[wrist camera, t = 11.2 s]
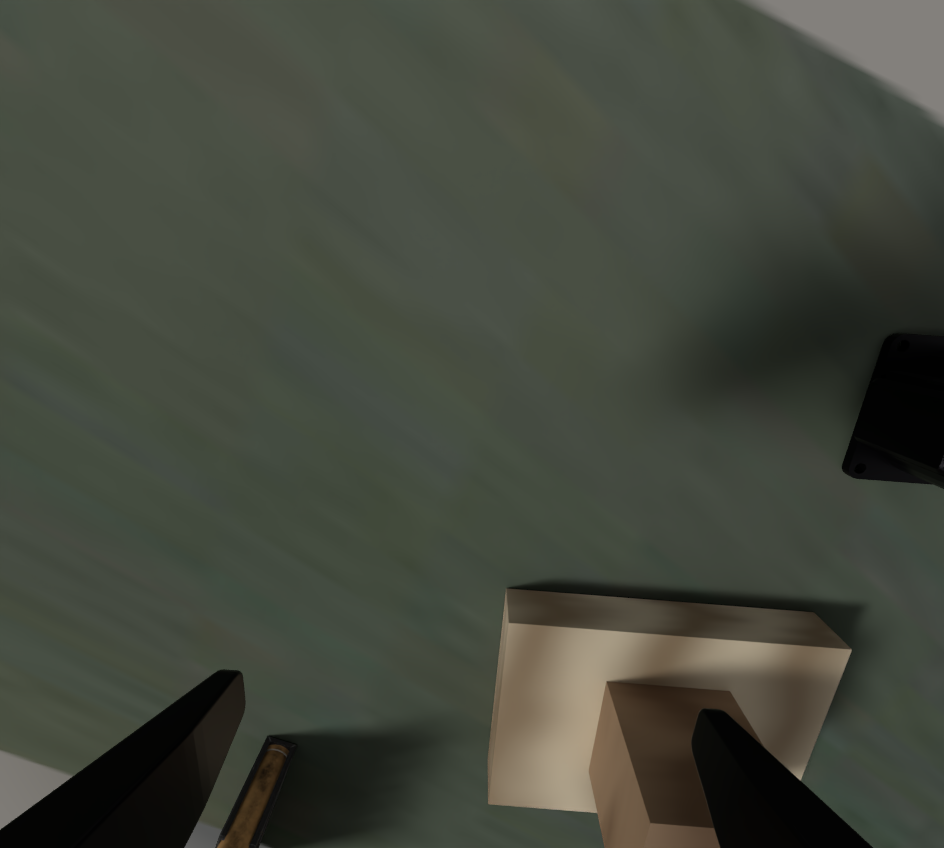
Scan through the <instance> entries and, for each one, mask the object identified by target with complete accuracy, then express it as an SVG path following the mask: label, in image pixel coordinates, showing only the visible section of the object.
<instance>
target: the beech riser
mask: <svg viewBox="0 0 944 848" xmlns="http://www.w3.org/2000/svg"><path fill="white" fill-rule="evenodd" d="M851 651H852V649H851V648H850V647H849V646H848V645H847V644H846V643H845V642H844V641H843V640H842V639H841V638H840V637H839V636H838V635H837V634H836V633H835V632H834V631H833V630H832V629H831V628H830V627H828V626H827V625H826V624H825V623H824V622H823V621H822V620H821V619H820V618H819V617H818V616H817V615H816V614H815V613H814V612H804V611H791V610H778V609H765V608H752V607H739V606H726V605H713V604H700V603H687V602H675V601H662V600H649V599H636V598H623V597H610V596H597V595H584V594H571V593H558V592H546V591H533V590H520V589H507V588H506V596H505V605H504V614H503V623H502V632H501V642H500V651H499V660H498V669H497V678H496V688H495V697H494V706H493V715H492V725H491V734H490V743H489V752H488V804H493V805H506V806H518V807H531V808H543V809H555V810H568V811H580V812H592V813H597V809H596V804H595V799H594V795H593V790H592V785H591V781H590V776H589V766H590V761H591V756H592V751H593V746H594V741H595V736H596V731H597V726H598V721H599V716H600V711H601V706H602V701H603V696H604V691H605V686H606V681H608V682H621V683H634V684H647V685H659V686H672V687H685V688H698V689H710V690H723V691H730V692H731V694H732V695H733V697H734V698H735V700H736V702H737V703H738V705H739V707H740V708H741V710H742V712H743V713H744V715H745V716H746V718H747V720H748V721H749V723H750V725H751V726H752V728H753V730H754V731H755V733H756V734H757V736H758V738H759V739H760V741H761V743H762V744H763V746H764V748H766V749H767V750H768V751H769V752H770V753H771V754H772V755H773V756H774V757H775V758H776V759H777V760H779V761H780V762H781V763H782V764H783V765H784V766H785V767H786V768H787V769H788V770H789V771H790V772H792V773H793V774H794V775H795V776H796V777H797V778H798V779H799V780H800V781H801V778H802V775H803V773H804V770H805V768H806V765H807V763H808V760H809V758H810V755H811V753H812V750H813V748H814V745H815V743H816V740H817V737H818V735H819V732H820V730H821V727H822V725H823V722H824V720H825V717H826V715H827V712H828V710H829V707H830V704H831V702H832V699H833V697H834V694H835V692H836V689H837V687H838V684H839V682H840V679H841V677H842V674H843V671H844V669H845V666H846V664H847V661H848V659H849V656H850V654H851Z"/></svg>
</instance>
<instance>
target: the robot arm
mask: <svg viewBox="0 0 944 848" xmlns="http://www.w3.org/2000/svg"><path fill="white" fill-rule="evenodd" d="M899 342H901V346H900V347H899V349H897V345H898V343H899ZM858 464H859V466H858V468H857V469H855V467H856V465H858ZM854 469H855V470H854ZM842 470H843V472H844V473H845V474H847V475H849V476H851V477H853V478H856V479H868V480H881V481H894V482H907V483H921V484H934V485H936V486H938V487H941V488H943V489H944V336H932V335H918V334H904V333H895V334H892V335H890V336H889V337H888V338H886V339H885V341H884V343H883V345H882V348H881V351H880V354H879V357H878V360H877V363H876V366H875V369H874V372H873V375H872V378H871V381H870V384H869V387H868V390H867V393H866V396H865V399H864V402H863V405H862V408H861V411H860V413H859V416H858V419H857V422H856V425H855V428H854V431H853V434H852V437H851V440H850V443H849V446H848V449H847V452H846V455H845V458H844V461H843V464H842ZM244 710H245V691H244V682H243V675H242V673H241V672H240V671H238V670H225V669H223V670H219V671H217V672H215V673H214V674H212V675H211V676H210V677H208V678H207V679H206V680H204V681H203V682H202V683H200V684H199V685H197V686H196V687H195V688H193V689H192V690H191V691H189V692H188V693H186V694H185V695H184V696H182V697H181V698H180V699H178V700H177V701H176V702H174V703H173V704H171V705H170V706H169V707H167V708H166V709H165V710H163V711H162V712H161V713H159V714H158V715H156V716H155V717H154V718H152V719H151V720H150V721H148V722H147V723H145V724H144V725H143V726H141V727H140V728H139V729H137V730H136V731H135V732H133V733H132V734H130V735H129V736H128V737H126V738H125V739H124V740H122V741H121V742H119V743H118V744H117V745H115V746H114V747H113V748H111V749H110V750H109V751H107V752H106V753H104V754H103V755H102V756H100V757H99V758H98V759H96V760H95V761H94V762H92V763H91V764H89V765H88V766H87V767H85V768H84V769H83V770H81V771H80V772H78V773H77V774H76V775H74V776H73V777H72V778H70V779H69V780H68V781H66V782H65V783H64V784H62V785H61V786H59V787H58V788H57V789H55V790H54V791H52V792H51V793H50V794H49V795H47V796H46V797H44V798H43V799H42V800H40V801H39V802H38V803H36V804H35V805H33V806H32V807H31V808H29V809H28V810H27V811H25V812H24V813H22V814H21V815H20V816H19V817H17V818H16V819H14V820H13V821H11V822H10V823H9V824H8V825H6V826H5V827H3V828H2V829H1V830H0V848H184V847H185V845H186V843H187V841H188V840H189V838H190V836H191V834H192V832H193V830H194V828H195V826H196V824H197V822H198V820H199V818H200V816H201V814H202V812H203V810H204V808H205V806H206V803H207V801H208V799H209V796H210V794H211V792H212V789H213V787H214V785H215V782H216V780H217V777H218V775H219V773H220V770H221V768H222V765H223V763H224V760H225V758H226V756H227V753H228V751H229V748H230V746H231V744H232V741H233V739H234V736H235V734H236V731H237V729H238V727H239V724H240V722H241V719H242V717H243V714H244ZM691 749H692V754H693V757H694V761H695V764H696V768H697V771H698V774H699V778H700V781H701V785H702V788H703V792H704V795H705V799H706V802H707V805H708V809H709V812H710V816H711V819H712V823H713V826H714V830H715V833H716V836H717V839H718V843H719V846H720V848H873V847H872V846H871V845H870V844H869V843H867V842H866V841H865V840H864V839H863V838H862V837H861V836H860V835H859V834H858V833H857V832H856V831H854V830H853V829H852V828H851V827H850V826H849V825H848V824H847V823H846V822H845V821H844V820H843V819H841V818H840V817H839V816H838V815H837V814H836V813H835V812H834V811H833V810H832V809H831V808H830V807H828V806H827V805H826V804H825V803H824V802H823V801H822V800H821V799H820V798H819V797H818V796H817V795H815V794H814V793H813V792H812V791H811V790H810V789H809V788H808V787H807V786H806V785H805V784H803V783H802V782H801V781H800V780H799V779H798V778H797V777H796V776H795V775H794V774H793V773H792V772H790V771H789V770H788V769H787V768H786V767H785V766H784V765H783V764H782V763H781V762H780V761H779V760H777V759H776V758H775V757H774V756H773V755H772V754H771V753H770V752H769V751H768V750H767V749H766V748H764V747H763V746H762V745H761V744H760V743H759V742H758V741H757V740H756V739H755V738H754V737H753V736H751V735H750V734H749V733H748V732H747V731H746V730H745V729H744V728H743V727H742V726H741V725H740V724H738V723H737V722H736V721H735V720H734V719H733V718H732V717H731V716H730V715H729V714H727V713H726V712H725V711H723V710H720V709H710V708H702V709H701V710H700V711H699V713H698V716H697V720H696V723H695V727H694V730H693V734H692V738H691Z"/></svg>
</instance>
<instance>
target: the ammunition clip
mask: <svg viewBox="0 0 944 848" xmlns="http://www.w3.org/2000/svg"><path fill="white" fill-rule="evenodd" d="M296 747H297V745H295V744H292V743H289V742H286V741H282V740H279V739H276V738H273V737H270V736H267V738H266V740H265V742H264V744H263V746H262V749H261V751H260V753H259V755H258V757H257V759H256V761H255V763H254V765H253V767H252V769H251V771H250V773H249V775H248V778H247V780H246V782H245V784H244V786H243V788H242V790H241V792H240V794H239V796H238V798H237V800H236V802H235V804H234V807H233V809H232V811H231V813H230V815H229V817H228V819H227V821H226V823H225V825H224V827H223V829H222V831H221V833H220V836H219V838H218V841H217V844H216V847H215V848H259V845H260V843H261V840H262V837H263V835H264V832H265V829H266V827H267V824H268V822H269V819H270V816H271V814H272V811H273V808H274V806H275V803H276V800H277V798H278V795H279V792H280V790H281V787H282V784H283V782H284V779H285V776H286V774H287V771H288V768H289V766H290V763H291V760H292V758H293V755H294V753H295V750H296Z"/></svg>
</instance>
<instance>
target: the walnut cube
mask: <svg viewBox="0 0 944 848" xmlns="http://www.w3.org/2000/svg"><path fill="white" fill-rule="evenodd" d="M702 708H710V709H720V710H723V711H725V712H726V713H727V714H729V715H730V716H731V717H732V718H733V719H734V720H735V721H736V722H737V723H738V724H740V725H741V726H742V727H743V728H744V729H745V730H746V731H747V732H748V733H749V734H750V735H751V736H753V737H754V738H755V739H756V740H757V741H758V742H759V743H760V744H761V745H762V746H763V744H762V743H761V741H760V739H759V738H758V736H757V734H756V733H755V731H754V730H753V728H752V726H751V725H750V723H749V721H748V720H747V718H746V716H745V715H744V713H743V712H742V710H741V708H740V707H739V705H738V703H737V702H736V700H735V698H734V697H733V695H732V694H731V692H730V691H723V690H710V689H698V688H685V687H672V686H659V685H647V684H634V683H621V682H608V681H606V686H605V691H604V696H603V701H602V706H601V711H600V716H599V721H598V726H597V731H596V736H595V741H594V746H593V751H592V756H591V761H590V766H589V776H590V781H591V785H592V790H593V795H594V799H595V804H596V809H597V813H598V818H599V823H600V827H601V832H602V837H603V841H604V846H605V848H720V846H719V843H718V839H717V836H716V833H715V830H714V826H713V823H712V819H711V816H710V812H709V809H708V805H707V802H706V799H705V795H704V792H703V788H702V785H701V781H700V778H699V774H698V771H697V768H696V764H695V761H694V757H693V754H692V749H691V738H692V734H693V730H694V727H695V723H696V720H697V716H698V713H699V711H700V710H701V709H702ZM763 747H764V746H763Z"/></svg>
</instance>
